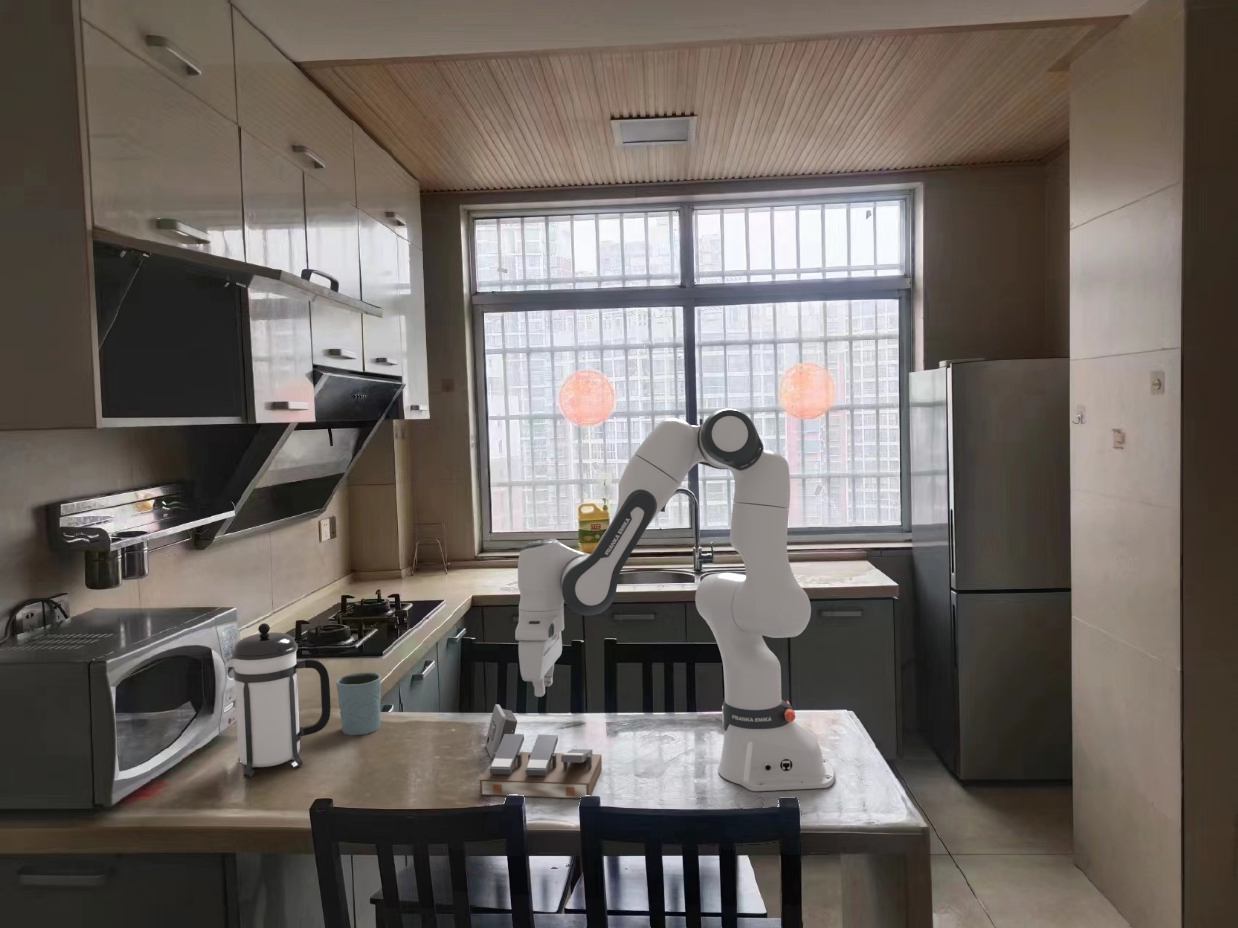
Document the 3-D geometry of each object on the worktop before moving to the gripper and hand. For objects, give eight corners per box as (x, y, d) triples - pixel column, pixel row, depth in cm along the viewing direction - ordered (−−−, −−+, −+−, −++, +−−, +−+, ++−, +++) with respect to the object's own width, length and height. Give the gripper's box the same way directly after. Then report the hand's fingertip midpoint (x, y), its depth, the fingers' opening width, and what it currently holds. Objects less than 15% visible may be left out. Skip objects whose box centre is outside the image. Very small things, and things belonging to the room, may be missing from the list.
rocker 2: (592, 755, 172) (592, 748, 172) (581, 762, 161) (582, 755, 162) (572, 755, 173) (572, 748, 173) (561, 761, 162) (561, 754, 162)
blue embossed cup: (366, 738, 195) (363, 686, 195) (328, 734, 198) (326, 682, 198) (391, 723, 205) (389, 673, 204) (355, 719, 208) (353, 670, 207)
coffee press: (277, 783, 171) (270, 634, 170) (215, 774, 177) (208, 629, 175) (334, 751, 187) (328, 615, 186) (275, 743, 193) (269, 611, 192)
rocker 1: (524, 739, 174) (523, 733, 174) (510, 774, 164) (509, 768, 164) (505, 738, 175) (504, 733, 175) (490, 773, 165) (489, 767, 164)
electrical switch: (484, 745, 189) (487, 703, 189) (508, 744, 190) (510, 702, 190) (491, 761, 180) (494, 717, 180) (515, 760, 181) (518, 716, 181)
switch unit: (601, 768, 174) (601, 742, 174) (588, 800, 160) (588, 771, 159) (501, 765, 177) (500, 739, 177) (479, 796, 163) (478, 767, 162)
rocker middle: (558, 740, 173) (557, 734, 173) (546, 775, 163) (545, 769, 163) (538, 739, 174) (538, 734, 174) (525, 774, 164) (525, 768, 163)
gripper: (538, 609, 181) (540, 674, 181) (512, 633, 161) (514, 706, 161) (568, 610, 180) (570, 675, 181) (545, 633, 160) (547, 707, 160)
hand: (543, 690), depth 171 cm, fingers open, 5 cm apart
